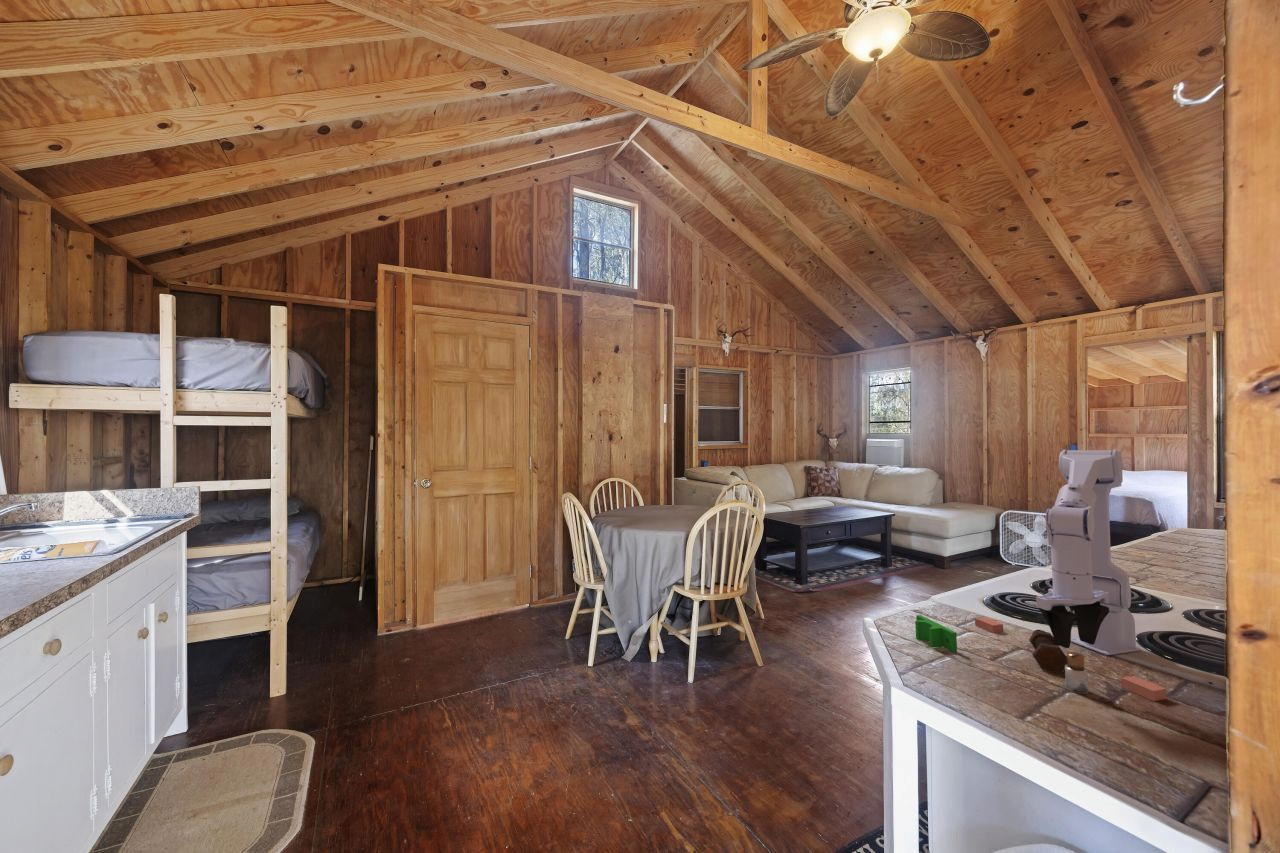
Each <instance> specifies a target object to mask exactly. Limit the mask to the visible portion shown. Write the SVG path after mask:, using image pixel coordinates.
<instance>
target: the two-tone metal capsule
mask: <svg viewBox="0 0 1280 853" xmlns="http://www.w3.org/2000/svg"><path fill="white" fill-rule="evenodd" d="M1066 657H1067V664H1066V665H1065V670H1064V677H1065V678H1064V679H1065V683H1064V684H1065V688H1066V689H1067V690H1068V691H1070V692H1072V693H1074V694H1075V693H1076V694H1079V695H1087V694H1089V680H1088V679H1089V678H1088V669H1087V668H1086V667H1085V655H1083V654H1081V653H1079V652H1077V651H1068V652H1066Z"/></svg>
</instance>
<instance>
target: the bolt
mask: <svg viewBox="0 0 1280 853" xmlns="http://www.w3.org/2000/svg"><path fill="white" fill-rule="evenodd" d="M1029 642H1030V644H1031V645H1032V647H1033V648H1034V651H1033V652H1032V657H1033V658H1034V660H1035V662H1036V664H1037V665H1038V666H1039V667H1040V669H1041V670H1044V671H1046V672H1047V671H1048V672H1053V673H1059V674H1060V673H1061V674H1062V673H1063V672H1065V665H1066V664H1067V654H1065V652H1064V651H1063V649H1061V646H1059V645H1057V644H1056V643H1055V641H1054V638H1053V635H1052V632H1048V631H1045V630H1042V629H1035V630H1034V631H1033V632H1032V634H1031V636H1030V637H1029Z"/></svg>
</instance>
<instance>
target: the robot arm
mask: <svg viewBox="0 0 1280 853" xmlns="http://www.w3.org/2000/svg"><path fill="white" fill-rule="evenodd" d="M1058 469H1059V473H1060V475H1061V476H1062V478H1063V479H1064V481H1065V482H1066V483H1067V484H1064V485H1062V487H1060V488H1059V490H1058V493H1057V496H1056V500H1055V503H1054V505H1053V506H1052V507H1051V508H1047V509H1046V511H1045V529H1046V533H1047V538H1048V545H1049V546H1050V547H1051V548H1050V549H1051V550H1050V551H1051V552H1050V553H1051V554H1050V555H1051V574H1052V576H1051V577H1052V587H1051V588H1048V589H1047V592H1048V593H1047V592H1046V593H1045V594H1043V595H1040V596H1036V597H1035V599H1036V600H1035V602H1036V604H1035V605H1036V608H1038V610H1039V611H1040V613H1041V614H1042V615H1043V617H1044V618H1045V621H1046V623H1047V625H1048V627H1049V628H1050V631H1051V632H1050V633H1051V635H1052V636H1053V638H1054V641H1055V643H1056V644H1057V645H1059V647H1062V648H1065V649H1069V648H1070V647H1071V644H1072V643H1074V644H1076V645H1079V646H1081V647H1084V648H1087V649H1089V650H1092V651H1095V652H1097V653H1100V654H1103V655H1105V656H1112V655H1121V654H1127V653H1134V652H1140V651H1142V649H1141V647H1138V646H1137V645H1136V644H1137V640H1136V637H1137V636H1136V621H1135V617H1134V616H1133V614H1132V612H1131V611H1130V610H1129V608H1131V603H1132V590H1131V584H1130V577H1129V575H1128V573H1127V571H1125V570H1124V569H1123V568H1121V567H1119V566H1118V565H1117V564H1115V563H1113V562H1112V555H1111V554H1112V553H1111V530H1110V529H1111V528H1110V527H1111V525H1110V524H1111V522H1110V503H1109V502H1110V501H1109V500H1110V493H1111V491H1112V489H1115V488H1119V487H1122V483H1123V459H1122V453H1121V452H1120V451H1119V450H1118V449H1113V450H1110V449H1108V450H1104V449H1103V450H1102V449H1101V450H1099V449H1098V450H1092V449H1091V450H1089V449H1088V450H1087V449H1086V450H1085V449H1080V450H1079V449H1077V450H1076V449H1075V450H1074V449H1071V450H1070V449H1069V450H1068V449H1063V450H1061V451H1060V453H1059V456H1058ZM1066 607H1072V609H1073V612H1072V611H1068V609H1067V608H1066ZM1075 619H1076V623H1077V624H1076V625H1077V633H1078V637H1074V638H1072V628H1073V624H1074V622H1075Z"/></svg>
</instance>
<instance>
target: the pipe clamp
mask: <svg viewBox="0 0 1280 853" xmlns="http://www.w3.org/2000/svg"><path fill="white" fill-rule="evenodd" d="M914 622H915V623H914V624H915V640H917V641H925V642H928V641H929V647H930V648H931V647H938V648H943V647H944V649H945V648H946V650H947V649H948V650H947V651H949V650H950V651H949V652H951V653H953V652H954V653H958V639H957V638H958V637H957V632H956V631H955V630H953V629H951V628H949V627H947V626H944V625H942V624H940V623H938V622H936V621H933V620H931V619H930V618H928V617H926V616H924V615H921V614H917V615H916V620H915V621H914ZM942 646H943V647H942Z"/></svg>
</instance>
